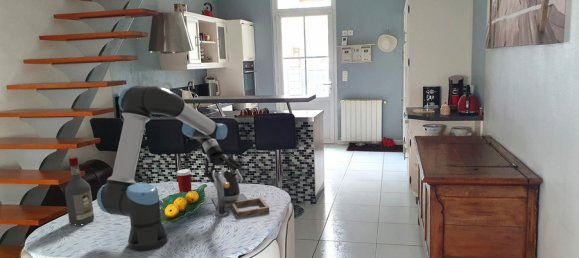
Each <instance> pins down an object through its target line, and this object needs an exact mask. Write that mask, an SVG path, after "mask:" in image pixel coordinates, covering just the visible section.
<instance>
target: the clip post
mask: <svg viewBox="0 0 579 258" xmlns="http://www.w3.org/2000/svg"><path fill="white" fill-rule="evenodd" d="M215 178H216V185H217V189H216V192H217V193H216V195H217V196H216V197H218V210H217V211H215V212H214V215H215V217H217V216H218V218H222V217H227V216H229V215H230V211H229V210H227V209H226V208H225V201H224V188H223V185H222V183H221V182H220V180H219V179H218V177H215Z"/></svg>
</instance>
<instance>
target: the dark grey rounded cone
mask: <svg viewBox="0 0 579 258" xmlns="http://www.w3.org/2000/svg"><path fill="white" fill-rule="evenodd" d="M223 172H224V178H225V179H226V181H227V182H229V188H224V201H225V202H233V201H235V200H236V199H237V198H238V197H239V194H241V190H240V189H241V188H240V185H239V180H238V177H237V174H236V173H235V172H234V171H232V170H230V169H228V170H225V171H223Z"/></svg>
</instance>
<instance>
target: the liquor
mask: <svg viewBox="0 0 579 258" xmlns="http://www.w3.org/2000/svg"><path fill="white" fill-rule="evenodd" d="M68 162H69V168H70V176H71V178H70V181H69V182H68V183H67V185H66V186H65V188H64V196H65V202H66V209H67V216H68V223H69V224H70V223H71V224H70V225H72V224H76V225H75V226H77V225H80V226H82V225H81V224H85V225H87V224H89V223H92V222H94V219H95V212H94V206H93V205H94V204H93V197H92V191H91V185H90V183H88V182H87V181H86V180H84V179H83V178H82V176H81V173H80V166H79V164H80V163H79V158H78V156H74V157H73V156H72V157H69V158H68ZM91 221H92V222H91ZM88 222H89V223H88ZM86 223H87V224H86Z"/></svg>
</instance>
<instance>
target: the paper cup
mask: <svg viewBox="0 0 579 258" xmlns="http://www.w3.org/2000/svg"><path fill="white" fill-rule="evenodd" d="M175 175H176V179H177V185H178V191H179V194H180V193H182V192H188V191H191V192H192V171H191V169H187V168H185V169H180V170H177V171H176V174H175Z"/></svg>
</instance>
